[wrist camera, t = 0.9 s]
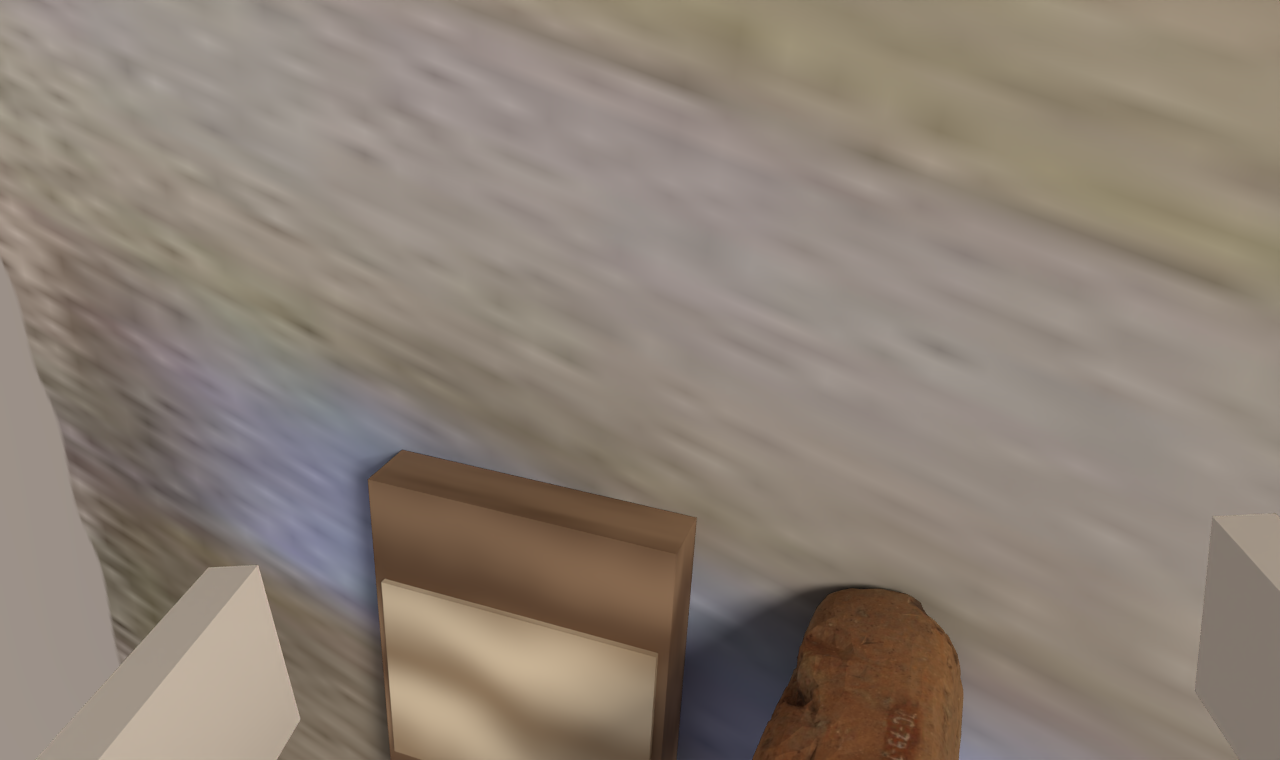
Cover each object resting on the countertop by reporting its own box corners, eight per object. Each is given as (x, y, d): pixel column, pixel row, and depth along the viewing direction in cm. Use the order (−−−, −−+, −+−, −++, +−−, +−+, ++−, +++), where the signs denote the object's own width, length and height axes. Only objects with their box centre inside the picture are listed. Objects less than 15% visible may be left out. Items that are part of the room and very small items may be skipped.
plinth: (402, 449, 50) (364, 482, 47) (696, 517, 46) (674, 558, 43) (423, 778, 59) (392, 821, 57) (667, 859, 55) (648, 910, 52)
